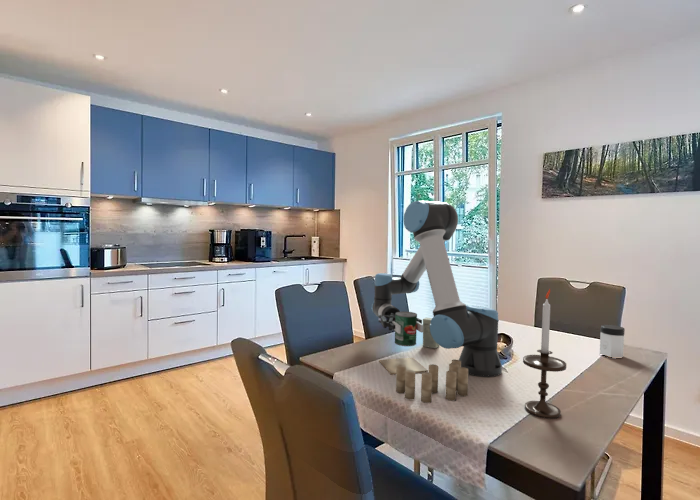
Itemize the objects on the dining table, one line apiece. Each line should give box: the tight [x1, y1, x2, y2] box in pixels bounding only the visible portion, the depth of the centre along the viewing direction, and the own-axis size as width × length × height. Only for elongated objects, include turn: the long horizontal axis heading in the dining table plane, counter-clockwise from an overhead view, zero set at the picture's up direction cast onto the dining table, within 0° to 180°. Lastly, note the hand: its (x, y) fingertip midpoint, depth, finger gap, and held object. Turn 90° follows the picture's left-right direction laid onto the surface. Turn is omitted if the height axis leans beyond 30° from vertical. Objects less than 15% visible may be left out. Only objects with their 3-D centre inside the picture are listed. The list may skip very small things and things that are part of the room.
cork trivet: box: [378, 357, 429, 376], centre depth 143 cm, size 14×14×1 cm
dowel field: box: [395, 359, 469, 404], centre depth 120 cm, size 22×15×8 cm
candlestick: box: [522, 289, 567, 420], centre depth 108 cm, size 11×11×35 cm
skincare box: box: [422, 317, 440, 349], centre depth 168 cm, size 6×4×12 cm
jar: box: [599, 324, 625, 358], centre depth 159 cm, size 9×8×12 cm
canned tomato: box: [394, 311, 418, 347], centre depth 141 cm, size 8×8×11 cm
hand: (410, 329), depth 136 cm, fingers closed on canned tomato, 8 cm apart
